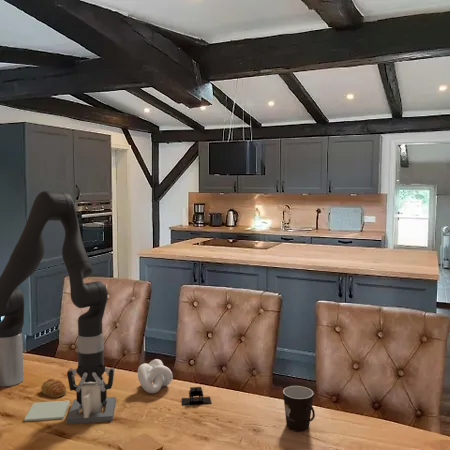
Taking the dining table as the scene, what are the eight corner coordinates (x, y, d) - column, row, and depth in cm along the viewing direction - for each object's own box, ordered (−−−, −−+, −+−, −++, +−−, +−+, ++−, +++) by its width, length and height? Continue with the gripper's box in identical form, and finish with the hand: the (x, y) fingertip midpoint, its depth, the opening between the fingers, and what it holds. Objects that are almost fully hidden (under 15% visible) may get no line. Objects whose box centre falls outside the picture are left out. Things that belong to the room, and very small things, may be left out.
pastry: (71, 394, 156) (71, 383, 156) (52, 401, 151) (52, 389, 151) (57, 386, 162) (57, 375, 162) (38, 392, 157) (38, 381, 157)
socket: (66, 424, 135) (66, 419, 135) (74, 404, 148) (73, 399, 148) (112, 420, 137) (112, 415, 137) (116, 401, 150) (115, 396, 150)
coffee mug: (281, 418, 139) (281, 385, 138) (310, 419, 138) (311, 386, 138) (285, 439, 127) (285, 403, 126) (317, 439, 127) (317, 404, 126)
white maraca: (84, 408, 145) (83, 379, 145) (103, 407, 146) (103, 379, 145) (75, 426, 134) (74, 396, 133) (96, 425, 134) (96, 395, 134)
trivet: (24, 421, 137) (24, 419, 137) (33, 404, 148) (33, 402, 148) (63, 418, 138) (63, 416, 138) (69, 402, 149) (69, 400, 149)
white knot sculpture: (155, 399, 151) (154, 372, 151) (127, 391, 157) (127, 365, 157) (176, 387, 161) (176, 361, 160) (150, 380, 167) (149, 355, 166)
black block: (176, 408, 146) (176, 394, 146) (176, 398, 153) (176, 385, 153) (216, 406, 148) (216, 392, 147) (214, 396, 155) (214, 383, 154)
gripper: (116, 343, 145) (117, 396, 147) (69, 344, 144) (70, 397, 145) (113, 351, 138) (113, 407, 139) (63, 353, 137) (64, 409, 138)
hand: (91, 402), depth 142 cm, fingers closed on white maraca, 6 cm apart
